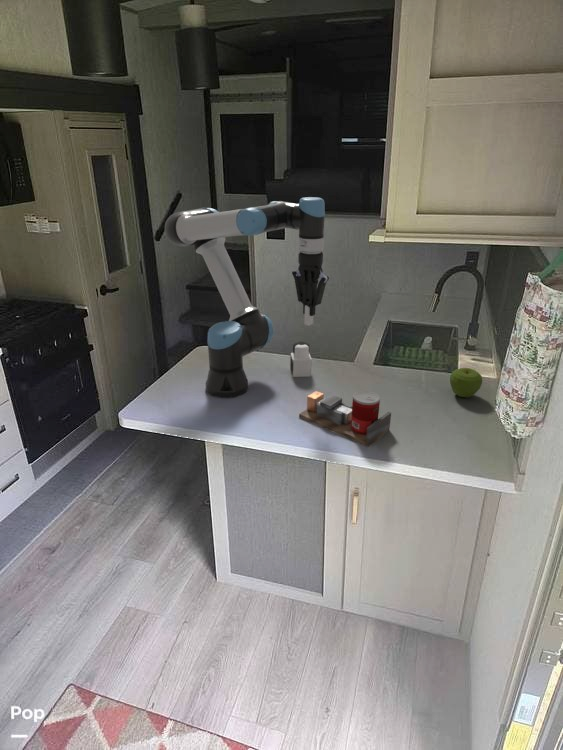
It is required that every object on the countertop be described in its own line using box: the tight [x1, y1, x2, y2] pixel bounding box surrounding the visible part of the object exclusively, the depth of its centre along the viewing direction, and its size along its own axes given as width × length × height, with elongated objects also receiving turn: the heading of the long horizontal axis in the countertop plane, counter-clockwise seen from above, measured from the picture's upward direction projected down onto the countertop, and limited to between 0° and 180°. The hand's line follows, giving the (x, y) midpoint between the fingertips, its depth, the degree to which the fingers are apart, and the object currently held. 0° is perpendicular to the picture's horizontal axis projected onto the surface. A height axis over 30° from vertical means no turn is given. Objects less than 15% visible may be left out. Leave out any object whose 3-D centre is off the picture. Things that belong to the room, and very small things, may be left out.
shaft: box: [306, 390, 352, 424], centre depth 164 cm, size 15×5×5 cm, turn 50°
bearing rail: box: [298, 394, 392, 447], centre depth 161 cm, size 26×12×7 cm, turn 50°
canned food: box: [351, 390, 381, 435], centre depth 155 cm, size 8×8×11 cm
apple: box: [449, 367, 483, 398], centre depth 178 cm, size 11×10×10 cm
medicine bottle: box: [289, 341, 313, 378], centre depth 193 cm, size 7×7×12 cm
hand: (308, 324), depth 168 cm, fingers closed
